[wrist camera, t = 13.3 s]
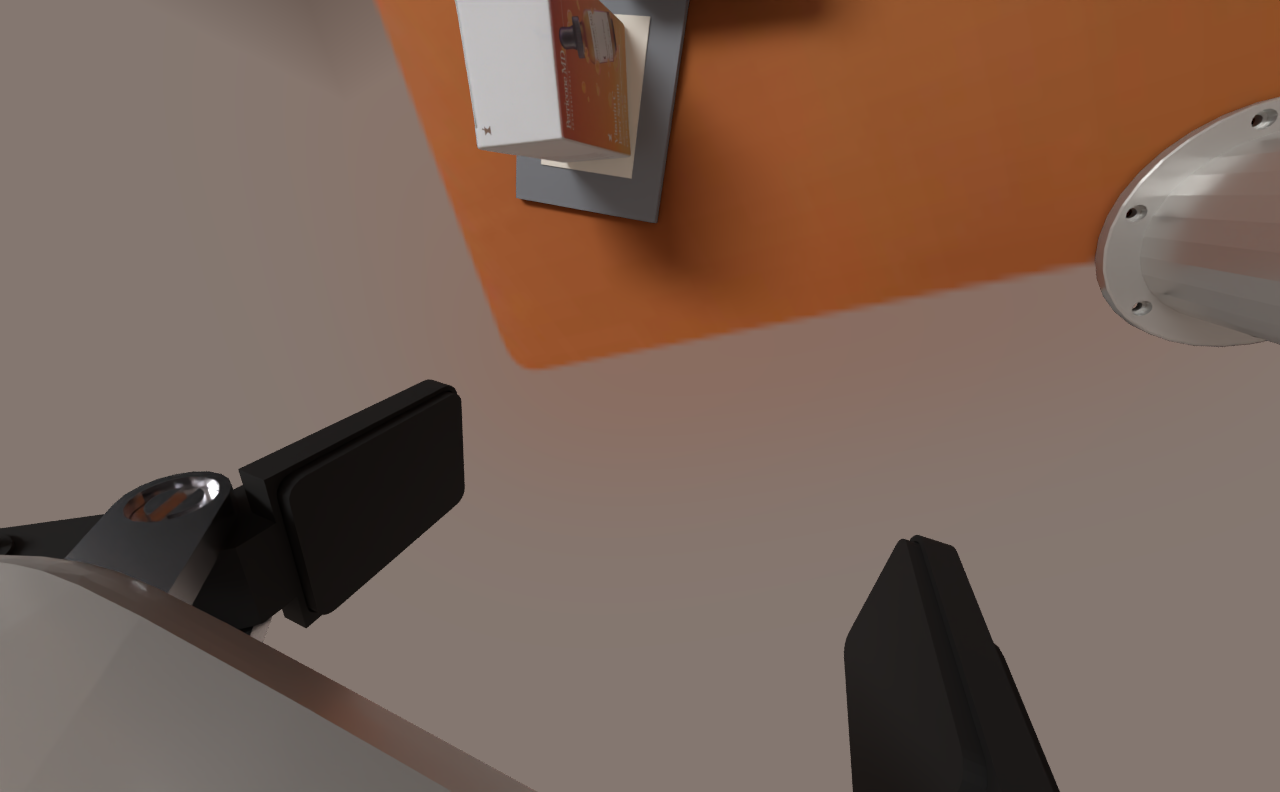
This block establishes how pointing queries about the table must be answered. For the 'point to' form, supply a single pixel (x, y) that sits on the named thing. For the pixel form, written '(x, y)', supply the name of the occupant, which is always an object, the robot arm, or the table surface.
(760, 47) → the table surface
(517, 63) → the small box
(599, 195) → the board
